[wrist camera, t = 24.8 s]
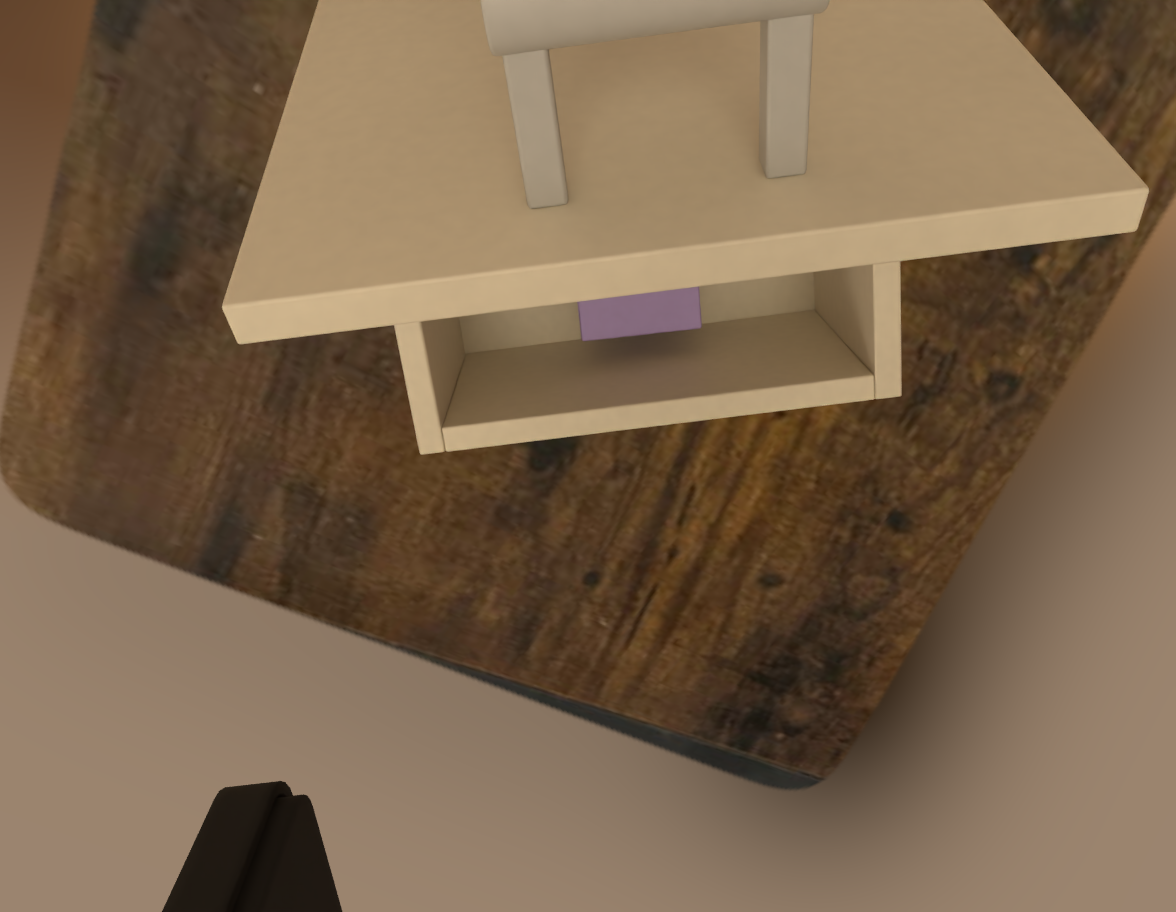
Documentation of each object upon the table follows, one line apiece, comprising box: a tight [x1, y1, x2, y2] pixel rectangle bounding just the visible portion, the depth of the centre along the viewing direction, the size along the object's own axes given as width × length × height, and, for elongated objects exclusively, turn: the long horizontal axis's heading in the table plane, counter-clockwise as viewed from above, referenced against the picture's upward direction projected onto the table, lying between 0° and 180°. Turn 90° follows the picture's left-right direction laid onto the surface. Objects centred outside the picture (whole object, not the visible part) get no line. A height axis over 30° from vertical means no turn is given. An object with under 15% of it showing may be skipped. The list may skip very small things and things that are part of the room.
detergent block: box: [577, 287, 702, 341], centre depth 35 cm, size 4×4×4 cm
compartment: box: [394, 261, 902, 454], centre depth 33 cm, size 13×15×9 cm
